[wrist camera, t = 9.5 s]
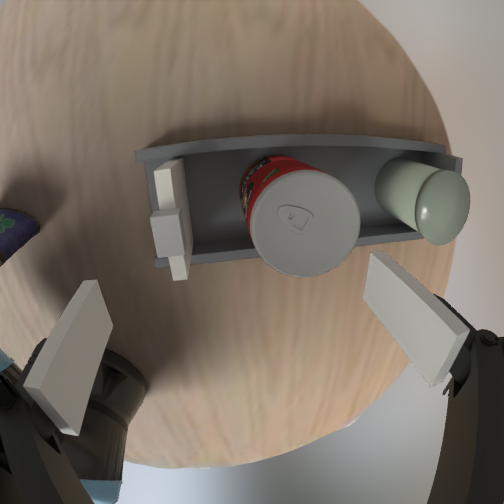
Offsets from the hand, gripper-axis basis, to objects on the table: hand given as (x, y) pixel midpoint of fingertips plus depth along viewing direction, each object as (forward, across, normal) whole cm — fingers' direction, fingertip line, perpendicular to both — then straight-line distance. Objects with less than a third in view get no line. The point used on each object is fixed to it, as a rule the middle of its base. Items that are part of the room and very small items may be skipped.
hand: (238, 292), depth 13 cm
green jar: (+17, +21, +1) cm, 27 cm away
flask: (+19, -27, +1) cm, 33 cm away
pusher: (+17, -4, 0) cm, 17 cm away
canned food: (+17, +6, 0) cm, 18 cm away
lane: (+18, +9, +1) cm, 20 cm away
